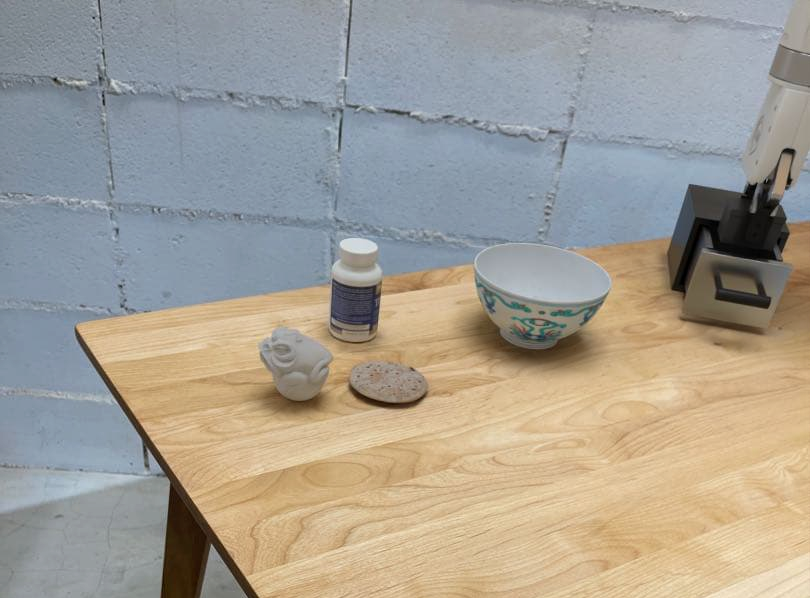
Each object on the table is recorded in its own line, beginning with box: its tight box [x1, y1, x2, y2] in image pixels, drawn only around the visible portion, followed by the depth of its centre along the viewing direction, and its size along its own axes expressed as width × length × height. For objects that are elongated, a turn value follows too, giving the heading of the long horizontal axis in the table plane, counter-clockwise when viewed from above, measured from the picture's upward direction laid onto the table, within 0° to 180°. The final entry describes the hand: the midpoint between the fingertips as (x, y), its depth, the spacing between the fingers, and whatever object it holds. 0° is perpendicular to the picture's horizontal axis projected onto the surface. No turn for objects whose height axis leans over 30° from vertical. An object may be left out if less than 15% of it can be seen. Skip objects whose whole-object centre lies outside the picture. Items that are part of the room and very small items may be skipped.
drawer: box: [681, 224, 794, 330], centre depth 102 cm, size 17×10×8 cm, turn 169°
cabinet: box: [667, 183, 791, 293], centre depth 111 cm, size 13×12×10 cm
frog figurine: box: [257, 325, 334, 402], centre depth 79 cm, size 6×7×7 cm
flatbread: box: [348, 360, 429, 404], centre depth 84 cm, size 8×8×1 cm
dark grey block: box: [717, 196, 788, 251], centre depth 100 cm, size 6×5×4 cm
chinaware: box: [473, 242, 613, 350], centre depth 93 cm, size 15×15×8 cm
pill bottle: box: [328, 237, 383, 343], centre depth 89 cm, size 5×5×10 cm
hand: (745, 237), depth 101 cm, fingers closed on dark grey block, 4 cm apart
